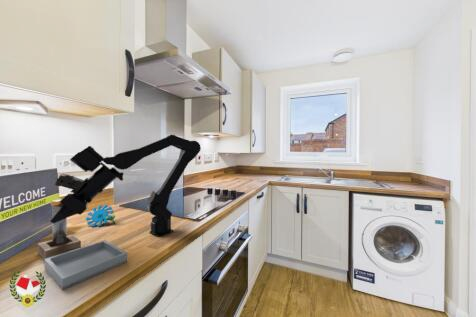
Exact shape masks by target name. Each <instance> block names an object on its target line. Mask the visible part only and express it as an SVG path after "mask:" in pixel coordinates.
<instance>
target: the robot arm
mask: <svg viewBox="0 0 476 317" xmlns="http://www.w3.org/2000/svg"><path fill="white" fill-rule="evenodd" d="M171 146H172V147H174V148H176V149H178V150H180V152H179V156H178V159H177V161H176V162H175V164H174V165H173V167H172V169H171V170H170V171H169V173H168V175H167V177H166V178H165V179H164V181H163V184H162V185H161V187H160V188H159V189H158V190H157V191H155V190H152V192H151V194H150V196H149V197H148V198H147V199H146V201H147V203H146V208H147V210H148V211H149V213H150V214H151V215H152V217H151V222H150V230H149V234H151V235H154V236H156V237H159V238H160V237H162V236H165V235H168V234H170V233H172V232H174V229H172V226H171V225H172V214H173V213H172V212H171V211H170V209H169V208H168V207H167V206H168V204H169V201H170V196H171V193H172V192H173V190H174V189H175V186H176V185H177V183H178V182H179V180H180V178H181V176H183V173H184V171H185V170H186V169H187V166H188V165H189V164H190V163H191V161H193V160H194V159H195V158H196V157H197V155H198V154H199V153H200V152H201V144H200V143H199V141H197V140H189V139H186V138H183V137H179V136H178V135H177V136H176V135H175V134H169V135H167V136H166V137H164V138H161V139H159V140H156V141H154V142H151V143H149V144H147V145H144V146H142V147H139V148H136V149H131V150H128V151H127V150H126V151H122V152H119V153H115V155H114V156H105V157H103V156H102V155H101V154H100V153H98V151H96V150H95V148H94V147H92V146H91V145H88V146H87V147H86V148H84V149H82V150H81V151H79V152H77V153H75V154H74V155H73V156H72V157H71V158H70V159H69V161H70V162H72V163H73V164H74V165H76V166H77V167H79V168H80V169H81V170H82V171H84V172H85V173H86V172H90V173H92V172H94V173H92V174H91V175H90V176H89V177H86V178H85V179H81V178H78V177H76V176H74V175H70V174H69V173H68V174H66V173H62V174H60V175H58V178H56V181H55V182H54V185H55V186H56V187H64V188H66V189H71V191H70V193H67V194H66V195H65V196H64V197H63V198H61V199H62V200H61V201H60V202H61V203H62V208H61V209H60V210H59V211H58V212H57V214H56V215H55V216H54V217H53V218H52V217H51V220H50V223H51V224H52V223H56V222H58V221H60V220H63V219H65V218H67V219H68V218H70V217H72V216H74V215H82V214H83V213H84V212H86V211H87V208H88V204H90V203H91V202H92V201H93V199H94V198H95V197H97V196H98V195H99V194H101V193H102V192H103V191H104V190H105V189H106V188H107V187H108V186H109V185H110V184H112V182H114V181H115V179H119V181H123V180H124V172H119V171H118V170H127V169H130V168H131V167H132V166H134V165H135V164H137V163H138V162H140V161H141V160H142V159H144V158H145V157H148V156H151V155H153V154H155V153H158V152H160V151H162V150H164V149H167V148H169V147H171ZM103 162H104V163H103ZM107 165H109V166H112V167H111V168H110V167H109V166H107ZM100 166H101V167H100ZM113 166H114V167H113ZM98 167H99V168H98ZM97 168H98V169H97ZM96 169H97V170H96ZM117 169H118V170H117ZM95 170H96V171H95Z"/></svg>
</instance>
